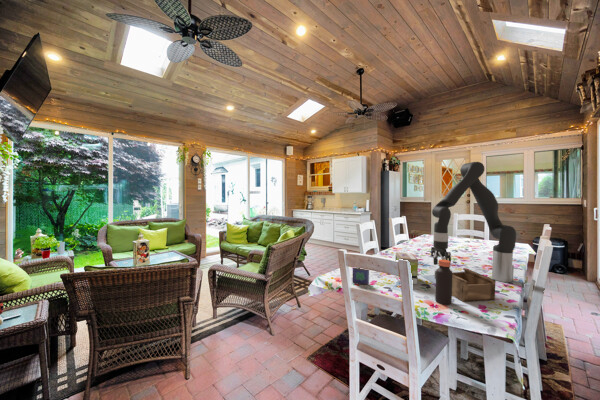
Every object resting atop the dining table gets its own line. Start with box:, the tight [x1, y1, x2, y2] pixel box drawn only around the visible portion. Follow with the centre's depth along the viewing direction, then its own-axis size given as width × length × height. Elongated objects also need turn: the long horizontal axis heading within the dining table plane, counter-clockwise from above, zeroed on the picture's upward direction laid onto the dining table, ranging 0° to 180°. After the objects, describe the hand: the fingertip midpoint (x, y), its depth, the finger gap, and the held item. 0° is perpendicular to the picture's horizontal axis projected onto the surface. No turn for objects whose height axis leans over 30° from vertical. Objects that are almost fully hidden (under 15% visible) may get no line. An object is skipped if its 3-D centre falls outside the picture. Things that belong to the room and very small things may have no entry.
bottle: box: [434, 259, 453, 306], centre depth 118 cm, size 7×7×20 cm
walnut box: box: [452, 268, 497, 303], centre depth 129 cm, size 18×17×10 cm
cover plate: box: [421, 270, 436, 285], centre depth 148 cm, size 14×14×6 cm
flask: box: [351, 267, 370, 286], centre depth 141 cm, size 9×3×11 cm, turn 68°
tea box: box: [395, 252, 419, 285], centre depth 148 cm, size 15×10×15 cm
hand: (440, 266), depth 148 cm, fingers open, 8 cm apart
